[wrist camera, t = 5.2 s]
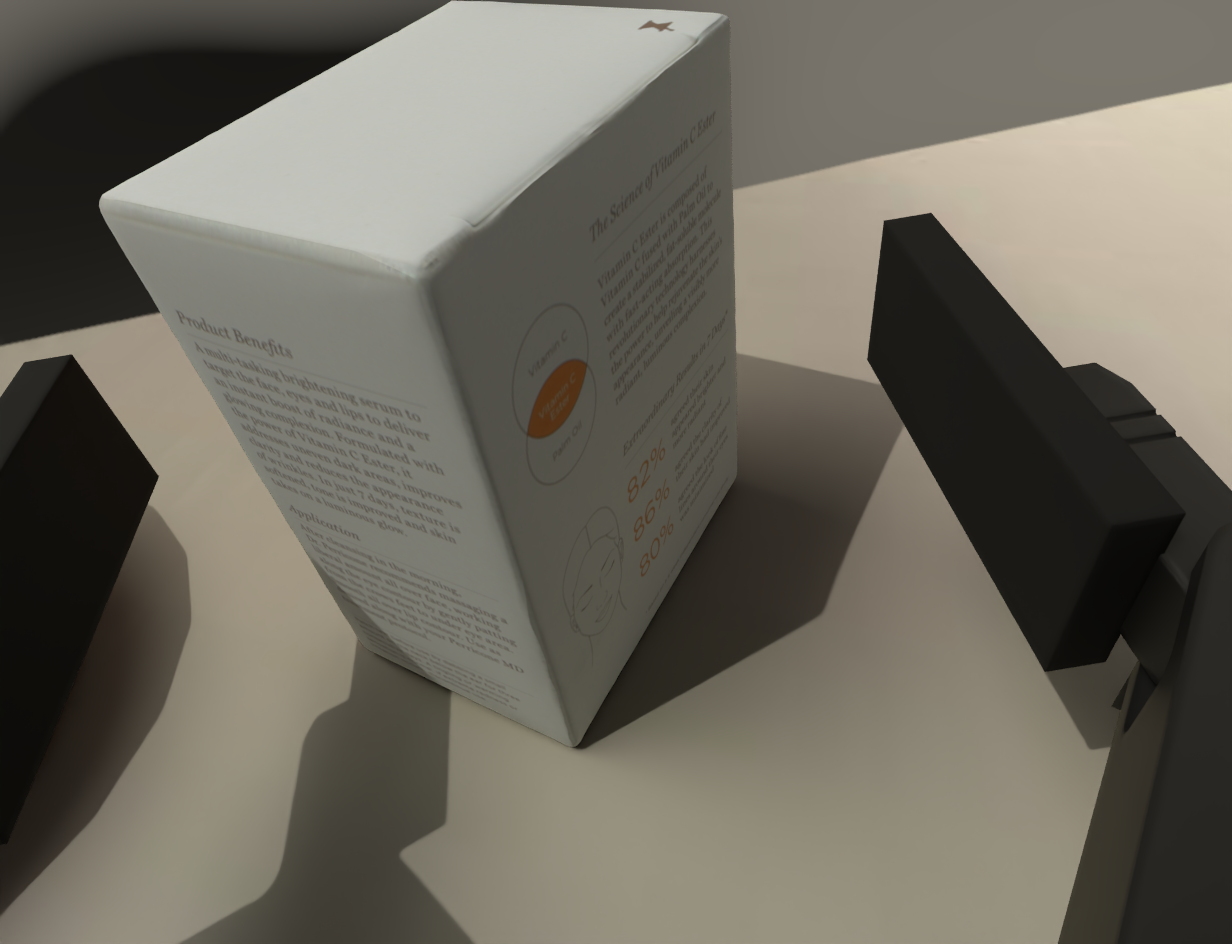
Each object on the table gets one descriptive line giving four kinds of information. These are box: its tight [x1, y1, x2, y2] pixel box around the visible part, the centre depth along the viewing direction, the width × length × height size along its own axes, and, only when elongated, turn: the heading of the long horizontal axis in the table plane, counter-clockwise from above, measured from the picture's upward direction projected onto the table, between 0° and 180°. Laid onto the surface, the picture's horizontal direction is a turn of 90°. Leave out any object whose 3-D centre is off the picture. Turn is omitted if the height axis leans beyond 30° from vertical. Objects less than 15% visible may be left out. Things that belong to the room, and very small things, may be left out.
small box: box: [99, 1, 737, 747], centre depth 15 cm, size 8×6×10 cm
